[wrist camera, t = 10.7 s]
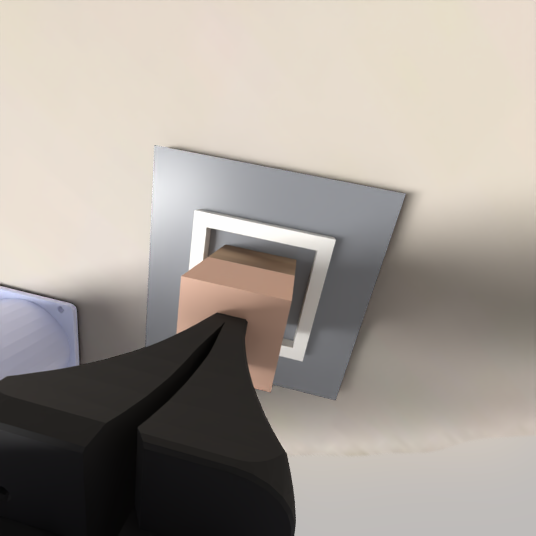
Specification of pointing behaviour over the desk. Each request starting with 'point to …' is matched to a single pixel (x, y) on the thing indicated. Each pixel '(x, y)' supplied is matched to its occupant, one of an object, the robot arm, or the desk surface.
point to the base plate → (273, 251)
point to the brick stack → (243, 301)
